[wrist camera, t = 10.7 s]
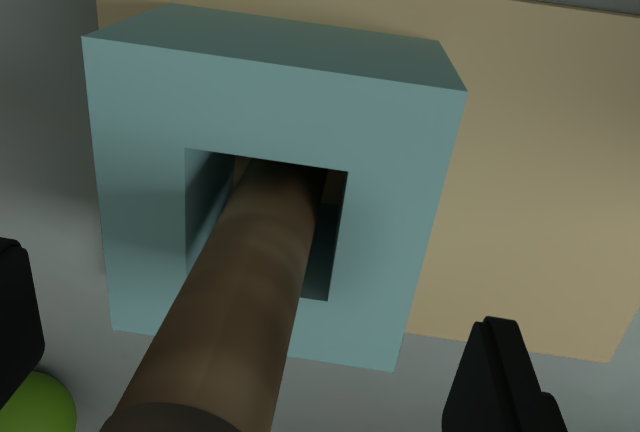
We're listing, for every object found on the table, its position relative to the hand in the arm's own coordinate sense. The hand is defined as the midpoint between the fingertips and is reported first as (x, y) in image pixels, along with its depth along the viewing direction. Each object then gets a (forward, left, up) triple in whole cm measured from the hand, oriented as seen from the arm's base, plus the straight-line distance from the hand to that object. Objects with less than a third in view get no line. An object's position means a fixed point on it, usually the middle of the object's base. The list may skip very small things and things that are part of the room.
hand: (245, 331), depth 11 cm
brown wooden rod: (0, 0, -10) cm, 10 cm away
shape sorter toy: (-4, +1, -11) cm, 11 cm away
